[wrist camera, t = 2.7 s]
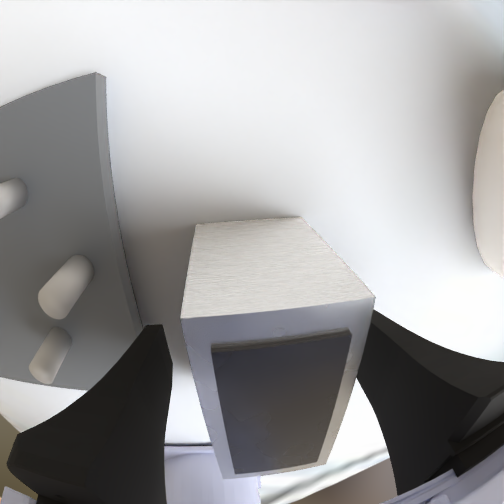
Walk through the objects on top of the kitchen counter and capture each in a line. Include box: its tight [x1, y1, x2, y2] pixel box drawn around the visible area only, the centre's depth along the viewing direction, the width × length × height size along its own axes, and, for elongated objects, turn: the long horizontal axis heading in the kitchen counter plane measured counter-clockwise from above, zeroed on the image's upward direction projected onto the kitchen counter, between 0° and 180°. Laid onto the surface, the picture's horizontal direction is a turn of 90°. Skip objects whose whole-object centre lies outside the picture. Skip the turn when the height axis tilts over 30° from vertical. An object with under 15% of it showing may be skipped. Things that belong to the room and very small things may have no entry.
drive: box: [180, 217, 376, 479], centre depth 10 cm, size 8×4×6 cm, turn 2°
